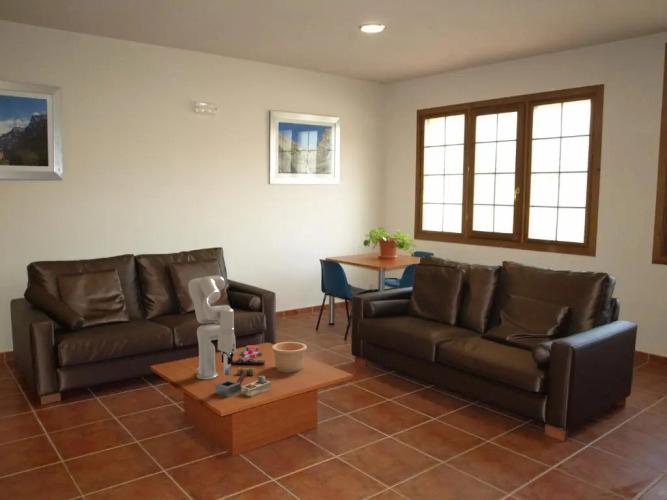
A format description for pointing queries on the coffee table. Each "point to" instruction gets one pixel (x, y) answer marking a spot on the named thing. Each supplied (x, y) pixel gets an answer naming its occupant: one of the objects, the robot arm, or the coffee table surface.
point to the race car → (250, 353)
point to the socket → (227, 388)
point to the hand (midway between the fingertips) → (227, 362)
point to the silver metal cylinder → (226, 364)
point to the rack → (256, 387)
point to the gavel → (244, 373)
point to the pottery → (289, 356)
